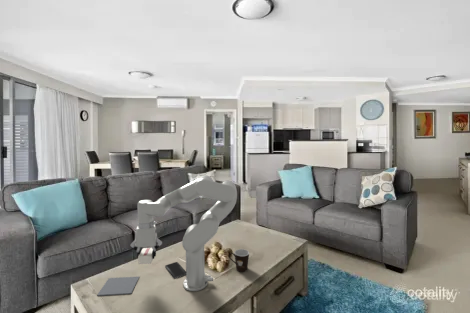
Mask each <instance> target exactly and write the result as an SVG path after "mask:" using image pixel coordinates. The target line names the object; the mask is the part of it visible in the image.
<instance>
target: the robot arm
mask: <svg viewBox="0 0 470 313" xmlns="http://www.w3.org/2000/svg"><path fill="white" fill-rule="evenodd" d="M237 190H238V189H237V186H236V185H235V182H233V181H232V180H225V181H223V182H217V181H214V179H213V178H212V177H211V176H209V175H201V176H200V177H198V178H196V179H195V180H192V181H191V182H189V183H187V184H186V183H185V185H183V186H181V187H178V188H177V189H175V190H173V191H171V192H169V193H166V194H165V195H163V196H161V197H160V198H158V199H157V200H156V201H154V202H153V200H151V199H141V200H139V201H138V202H137V204H136V205H137V207H136V208H137V226H136V230H135V239H134V240H133V241H132V242H131V243H130V244H129V245H130V247H131V248H132V249H133V250H134V251H136V254H137V255H136V256H137V258H138V256H139V254H140V252H141V251H142V248H152V249H153V251H152V257H153V260H154V259H155V257H156V256H157V250H158V249H159V247H160V246H162V245H163V241H162V240H160V238H158V232H157V227H156V225H157V223H158V222H157V221H155V220H154V217H156V218H162V217H164V216H165V215H166V213H167V212H168V211H169V210H170V209H171V208H174V207H175V206H177V205H179V204H182V203H187V204H188V203H190V202H192V201H194V200H195V199H198V198H200V197H203V198H206V199H208V200H209V199H211V200H214V201H216V203H214V204H213V206H211V207H210V208H209V209H208V210H207V211H206V212H205V213H204V214H202V216H201V217H200V220H199V222H198V223H193V224H191V225H189V226H188V227H187V229H186V231H185V233H184V235H183V238H182V240H181V241H182V242H181V244H182V248H183V250H184V251H185V271H186V275H185V279H184V280H183V282H182V283H183V284H182V286H183V288H184V289H185V290H187V291H189V292H199V291H202V290H203V289H205V288H206V287H207V286H208V282H214V276H212V275H211V274H208V275H207V274H206V272H205V245H206V244H207V243H208V242H209V241H211V239H213V238H214V236H215V235H216V234H217V232H218V230H219V225H220V224H221V222H222V221H223V220H224V219H225V218H227V216H229V215H230V214H231V212H232V211H233V209H234V208H235V205H236V204H237V201H238V200H237V199H238V191H237Z"/></svg>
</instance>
